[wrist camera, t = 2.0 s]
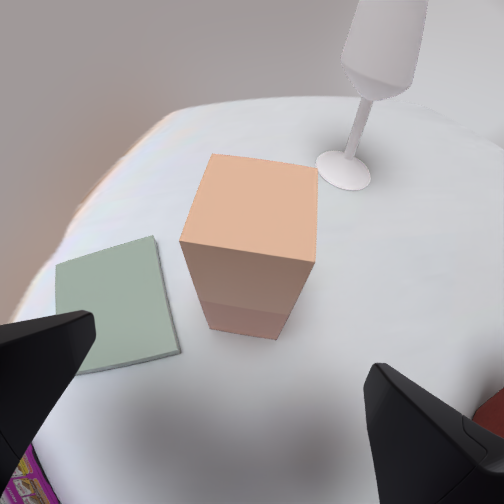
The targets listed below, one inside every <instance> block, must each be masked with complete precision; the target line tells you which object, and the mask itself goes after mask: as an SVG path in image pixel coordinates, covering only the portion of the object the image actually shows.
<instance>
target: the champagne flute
mask: <svg viewBox="0 0 504 504" xmlns="http://www.w3.org/2000/svg"><path fill="white" fill-rule="evenodd" d="M427 4H428V0H359V2H358V5H357V9H356V11H355V15H354V18H353V21H352V24H351V27H350V30H349V34H348V36H347V39H346V42H345V45H344V48H343V51H342V54H341V64H342V67H343V69H344V71H345V74H346V76H347V78H348V79H349V80H350V82H351V83H352V85H353V86H354V87H355V89H356V91H357V92H358V93H359V94H360V95H362V98H361V101H360V105H359V108H358V111H357V114H356V118H355V121H354V124H353V127H352V130H351V133H350V136H349V139H348V142H347V145H346V148H345V151H344V152H341V151H327V152H324V153H322V154H320V155H319V156H318V158H317V159H316V168H318V172H319V174H320V175H321V176H322V177H323V178H324V179H325V180H326V181H327V182H329V183H330V184H332V185H334V186H336V187H338V188H342V189H345V190H361V189H363V188H365V187H366V186H368V184H369V183H370V180H371V175H370V172H369V170H368V168H367V167H366V165H365V164H364V163H363V162H362V161H361V160H359V159H358V158H356V157H355V156H354V155H355V152H356V150H357V147H358V144H359V141H360V139H361V136H362V133H363V130H364V127H365V125H366V122H367V119H368V116H369V113H370V110H371V107H372V104H373V101H379V100H383V99H387V98H390V97H394V96H397V95H399V94H401V93H403V92H404V91H405V90H407V89H408V88H409V87H410V86H411V84H412V81H413V77H414V73H415V68H416V64H417V59H418V55H419V50H420V45H421V40H422V35H423V29H424V24H425V18H426V10H427Z"/></svg>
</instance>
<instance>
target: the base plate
mask: <svg viewBox="0 0 504 504" xmlns="http://www.w3.org/2000/svg"><path fill="white" fill-rule="evenodd" d="M55 299H56V315H58V314H63V313H68V312H73V311H78V310H86V311H89V312H92V313H93V315H94V319H95V327H96V340H95V342H94V344H93V345H92V347H91V349H90V351H89V352H88V354H87V356H86V358H85V359H84V361H83V363H82V365H81V367H80V368H79V370H78V372H77V373H76V375H81V374H87V373H92V372H98V371H103V370H108V369H113V368H118V367H123V366H128V365H133V364H137V363H142V362H146V361H150V360H155V359H159V358H163V357H167V356H171V355H175V354H179V353H181V351H180V347H179V344H178V340H177V336H176V332H175V328H174V324H173V320H172V316H171V312H170V307H169V303H168V298H167V294H166V289H165V285H164V280H163V275H162V270H161V265H160V260H159V254H158V249H157V243H156V241H155V238H154V236H153V235H152V236H149V237H145V238H142V239H138V240H135V241H131V242H128V243H124V244H121V245H118V246H114V247H111V248H108V249H104V250H101V251H98V252H95V253H91V254H88V255H85V256H82V257H79V258H75V259H72V260H69V261H66V262H63V263H60V264H57V265H56V277H55Z"/></svg>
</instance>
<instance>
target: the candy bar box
mask: <svg viewBox="0 0 504 504" xmlns="http://www.w3.org/2000/svg"><path fill="white" fill-rule="evenodd" d="M0 504H60V503H59V501H58V499H57V497H56V496H55V494H54V492H53V490H52V488H51V487H50V485H49V483H48V481H47V479H46V477H45V475H44V473H43V471H42V469H41V467H40V464H39V462H38V460H37V457H36V455H35V453H34V450H33V448H32V445H31V444H30V445H29V447H28V449H27V450H26V452H25V454H24V455H23V457H22V459H21V460H20V463H19V464H18V466H17V468H16V470H15V472H14V473H13V475H12V477H11V479H10V481H9V483H8V485H7V487H6V488H5V490H4V492H3V494H2V496H1V498H0Z"/></svg>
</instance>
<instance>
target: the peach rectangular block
mask: <svg viewBox="0 0 504 504" xmlns="http://www.w3.org/2000/svg"><path fill="white" fill-rule="evenodd" d="M317 197H318V168H312V167H307V166H301V165H295V164H289V163H283V162H276V161H269V160H262V159H255V158H247V157H239V156H230V155H220V154H212V155H211V157H210V160H209V162H208V165H207V167H206V170H205V172H204V175H203V177H202V180H201V182H200V185H199V187H198V190H197V193H196V195H195V198H194V201H193V203H192V206H191V209H190V211H189V214H188V217H187V220H186V222H185V225H184V228H183V231H182V234H181V237H180V240H179V242H180V245H181V248H182V251H183V254H184V257H185V260H186V263H187V266H188V269H189V272H190V275H191V278H192V281H193V284H194V287H195V289H196V292H197V295H198V298H199V301H200V303H201V306H202V309H203V312H204V314H205V317H206V320H207V322H208V325H209V328H210V329H214V330H219V331H225V332H230V333H236V334H242V335H248V336H254V337H260V338H267V339H274V340H277V338H278V336H279V334H280V332H281V330H282V328H283V326H284V324H285V322H286V321H287V319H288V317H289V315H290V313H291V311H292V309H293V307H294V305H295V303H296V301H297V299H298V297H299V295H300V293H301V291H302V289H303V287H304V285H305V283H306V280H307V278H308V276H309V274H310V272H311V270H312V268H313V266H314V264H315V258H316V235H317Z"/></svg>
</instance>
